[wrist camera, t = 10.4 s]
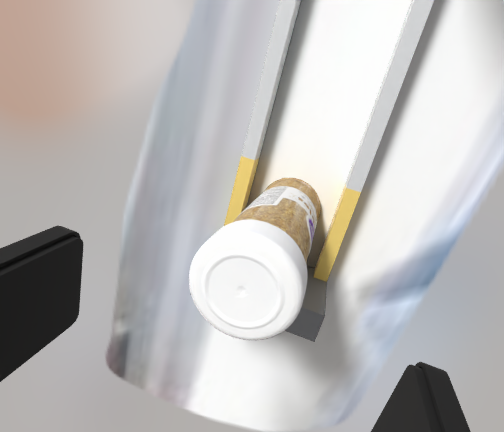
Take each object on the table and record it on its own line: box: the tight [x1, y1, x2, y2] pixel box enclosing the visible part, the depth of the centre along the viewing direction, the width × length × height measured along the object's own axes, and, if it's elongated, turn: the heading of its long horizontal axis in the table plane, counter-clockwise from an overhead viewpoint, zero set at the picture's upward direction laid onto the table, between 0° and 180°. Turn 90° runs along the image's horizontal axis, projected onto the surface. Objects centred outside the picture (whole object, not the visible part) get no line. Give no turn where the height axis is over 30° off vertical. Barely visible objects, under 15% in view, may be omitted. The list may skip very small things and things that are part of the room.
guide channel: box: [190, 0, 434, 342], centre depth 20 cm, size 27×8×6 cm, turn 164°
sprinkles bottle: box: [189, 178, 321, 340], centre depth 18 cm, size 5×5×13 cm
